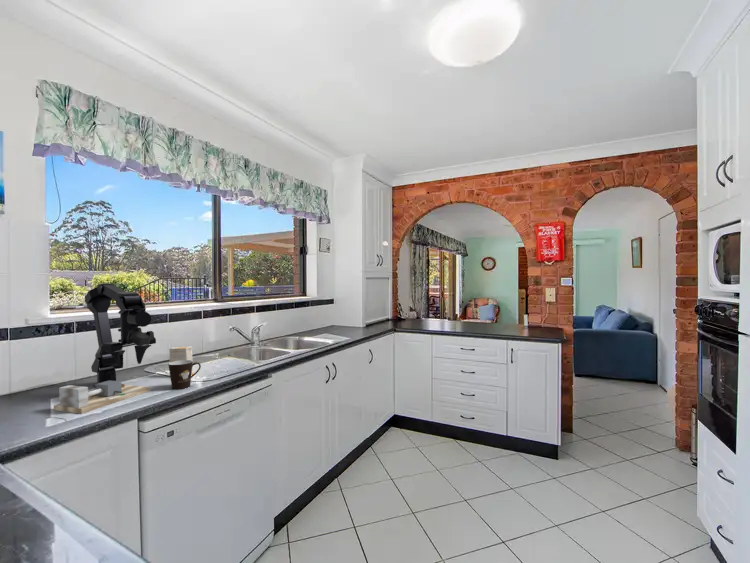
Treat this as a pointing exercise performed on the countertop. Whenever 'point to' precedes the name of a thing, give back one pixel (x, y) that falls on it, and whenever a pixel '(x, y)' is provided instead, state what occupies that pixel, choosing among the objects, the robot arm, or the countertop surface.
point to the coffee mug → (181, 373)
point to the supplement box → (181, 354)
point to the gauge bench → (92, 398)
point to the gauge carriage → (106, 388)
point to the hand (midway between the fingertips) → (130, 365)
